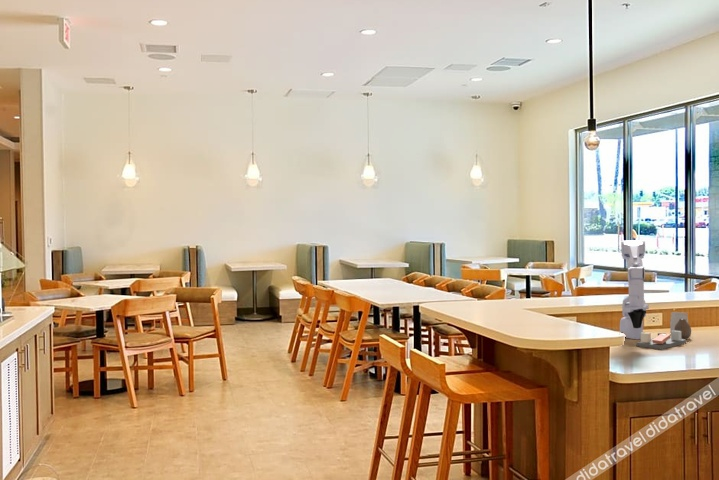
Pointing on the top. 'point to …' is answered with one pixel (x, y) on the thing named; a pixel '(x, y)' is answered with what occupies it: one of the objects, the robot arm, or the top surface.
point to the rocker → (661, 338)
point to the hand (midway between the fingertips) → (637, 327)
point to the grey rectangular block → (676, 319)
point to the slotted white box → (676, 335)
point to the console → (661, 346)
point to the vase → (683, 328)
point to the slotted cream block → (645, 337)
